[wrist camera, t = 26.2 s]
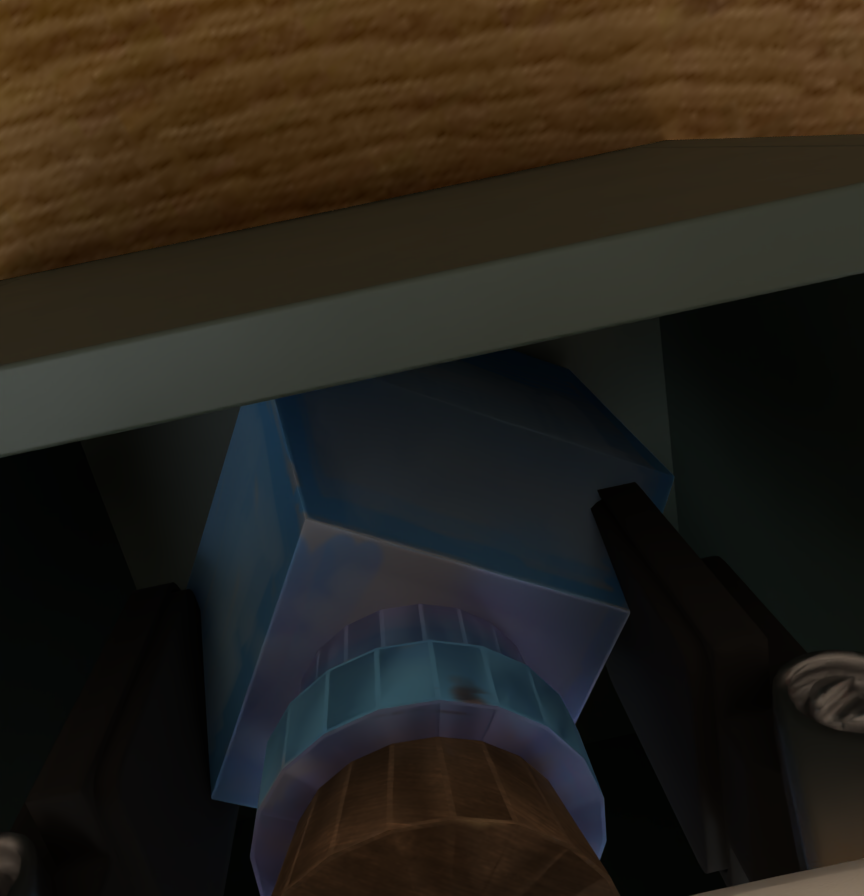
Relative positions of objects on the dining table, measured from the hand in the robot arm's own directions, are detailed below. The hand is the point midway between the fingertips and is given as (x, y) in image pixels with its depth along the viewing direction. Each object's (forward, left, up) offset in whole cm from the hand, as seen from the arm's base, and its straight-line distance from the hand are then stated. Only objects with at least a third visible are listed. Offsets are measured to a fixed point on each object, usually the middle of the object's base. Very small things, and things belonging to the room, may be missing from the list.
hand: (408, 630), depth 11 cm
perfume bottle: (0, 0, -7) cm, 7 cm away
